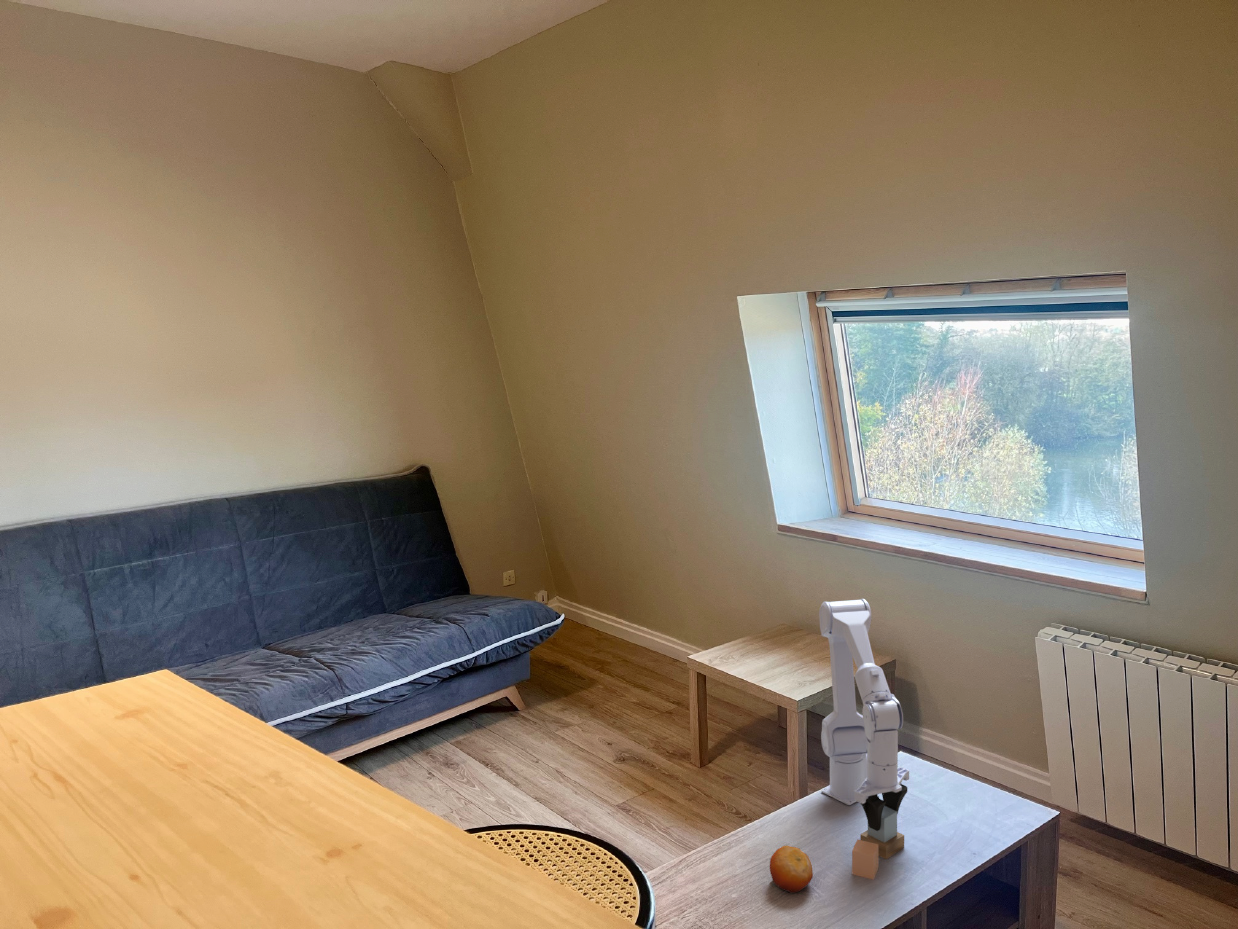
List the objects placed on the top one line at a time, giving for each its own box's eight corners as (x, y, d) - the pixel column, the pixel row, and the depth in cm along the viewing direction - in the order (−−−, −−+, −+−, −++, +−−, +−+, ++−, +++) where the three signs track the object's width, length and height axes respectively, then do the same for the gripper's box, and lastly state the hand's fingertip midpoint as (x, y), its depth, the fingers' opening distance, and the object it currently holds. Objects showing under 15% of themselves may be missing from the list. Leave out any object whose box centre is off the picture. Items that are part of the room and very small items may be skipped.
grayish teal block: (880, 826, 184) (880, 803, 183) (897, 835, 181) (896, 811, 180) (867, 834, 182) (867, 811, 181) (884, 842, 179) (884, 819, 178)
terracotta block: (857, 863, 177) (857, 839, 176) (878, 868, 175) (878, 844, 174) (852, 874, 173) (852, 850, 173) (873, 880, 172) (873, 855, 171)
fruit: (774, 857, 177) (792, 832, 174) (806, 889, 174) (825, 864, 170) (752, 878, 171) (770, 851, 168) (784, 911, 168) (804, 885, 164)
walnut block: (878, 836, 186) (878, 823, 186) (904, 849, 181) (904, 835, 181) (860, 848, 182) (860, 834, 182) (886, 861, 178) (886, 847, 177)
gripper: (875, 779, 172) (875, 846, 174) (922, 755, 180) (922, 819, 182) (845, 765, 177) (846, 830, 179) (892, 742, 186) (892, 805, 188)
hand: (882, 824), depth 181 cm, fingers open, 4 cm apart
